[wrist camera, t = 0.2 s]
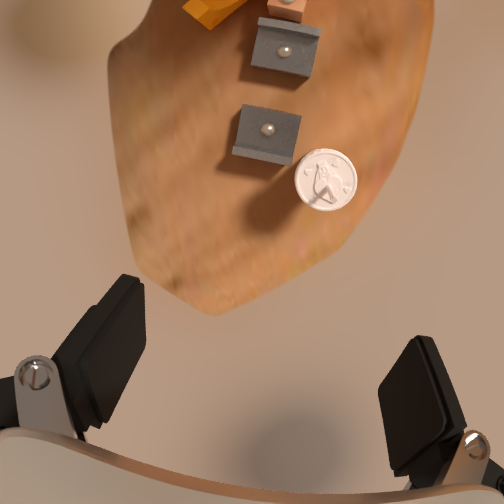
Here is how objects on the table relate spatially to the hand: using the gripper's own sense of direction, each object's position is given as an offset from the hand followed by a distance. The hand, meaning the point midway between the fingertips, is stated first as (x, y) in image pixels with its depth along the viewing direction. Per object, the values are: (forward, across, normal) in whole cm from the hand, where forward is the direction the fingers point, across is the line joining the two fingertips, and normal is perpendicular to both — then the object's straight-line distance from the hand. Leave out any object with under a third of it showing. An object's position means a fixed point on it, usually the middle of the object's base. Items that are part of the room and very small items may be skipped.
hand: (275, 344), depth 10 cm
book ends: (+32, +3, -9) cm, 33 cm away
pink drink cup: (+32, -4, -1) cm, 33 cm away
